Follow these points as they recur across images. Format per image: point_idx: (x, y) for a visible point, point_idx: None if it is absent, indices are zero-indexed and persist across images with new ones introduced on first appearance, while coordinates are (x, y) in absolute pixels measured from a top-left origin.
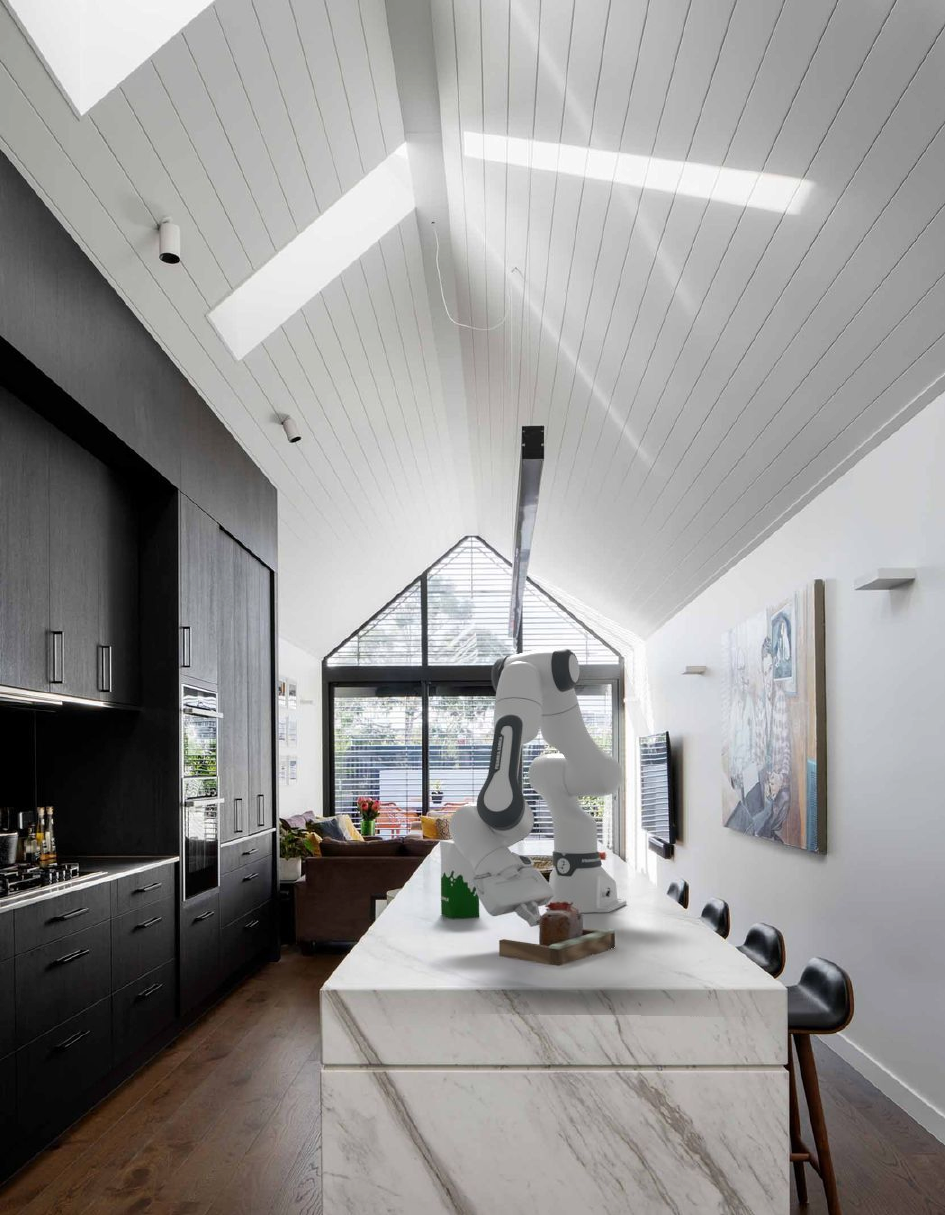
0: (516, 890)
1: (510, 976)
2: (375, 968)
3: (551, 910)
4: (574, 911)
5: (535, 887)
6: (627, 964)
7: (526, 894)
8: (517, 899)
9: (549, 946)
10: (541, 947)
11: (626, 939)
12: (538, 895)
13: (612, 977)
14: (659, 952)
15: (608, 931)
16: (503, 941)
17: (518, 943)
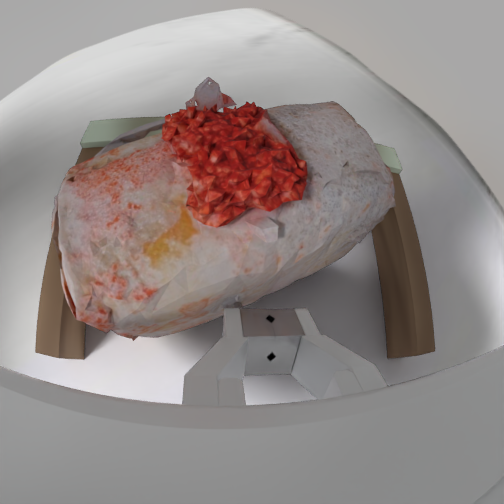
0: (436, 478)
1: (467, 216)
2: None
3: (315, 174)
4: (161, 133)
5: (34, 487)
6: (257, 86)
7: (312, 453)
8: (448, 384)
9: (400, 171)
10: (404, 196)
11: (6, 188)
12: (106, 411)
13: (352, 90)
14: (118, 86)
15: (117, 121)
16: (432, 333)
17: (425, 273)
